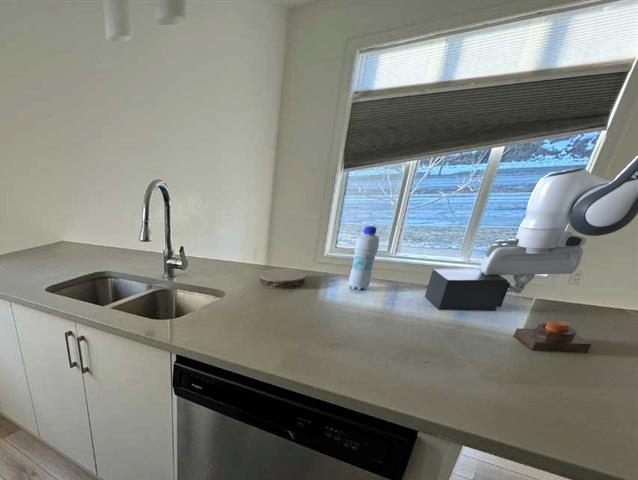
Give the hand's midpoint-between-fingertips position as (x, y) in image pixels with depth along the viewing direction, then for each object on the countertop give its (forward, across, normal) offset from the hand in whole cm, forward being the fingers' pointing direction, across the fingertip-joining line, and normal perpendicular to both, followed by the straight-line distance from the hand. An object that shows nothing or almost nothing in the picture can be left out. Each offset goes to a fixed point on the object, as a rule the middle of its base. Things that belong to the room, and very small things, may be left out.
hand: (518, 289), depth 112 cm
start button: (+1, -5, -28) cm, 29 cm away
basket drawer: (+3, -9, 0) cm, 10 cm away
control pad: (+4, -5, -28) cm, 29 cm away
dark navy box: (+4, -13, 0) cm, 14 cm away
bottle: (+4, -37, +14) cm, 40 cm away
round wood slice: (+3, -61, +21) cm, 65 cm away
